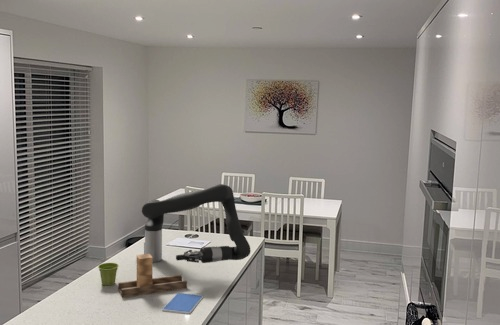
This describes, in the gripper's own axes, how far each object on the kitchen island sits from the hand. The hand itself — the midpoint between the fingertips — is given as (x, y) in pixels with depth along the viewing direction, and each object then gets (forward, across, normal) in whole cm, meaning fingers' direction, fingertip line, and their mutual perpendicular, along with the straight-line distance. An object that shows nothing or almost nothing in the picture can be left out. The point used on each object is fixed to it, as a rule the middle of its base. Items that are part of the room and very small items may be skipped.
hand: (176, 257), depth 225 cm
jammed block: (+15, +1, +13) cm, 20 cm away
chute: (+11, +1, +14) cm, 18 cm away
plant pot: (+29, -14, +14) cm, 35 cm away
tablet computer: (+3, +22, +14) cm, 26 cm away
